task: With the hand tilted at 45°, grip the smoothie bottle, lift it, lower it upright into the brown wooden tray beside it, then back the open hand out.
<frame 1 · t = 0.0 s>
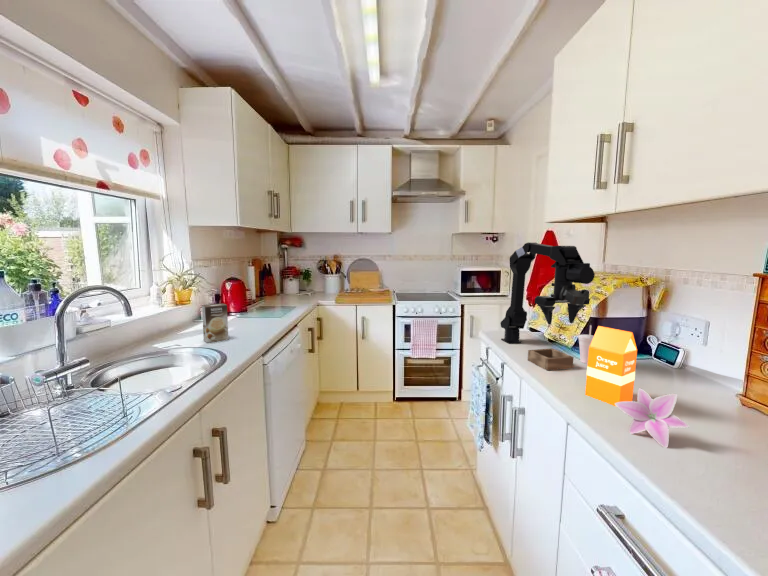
hand: (560, 323, 120), 15 cm above the countertop, tool pointing down, fingers open, 9 cm apart
smoothie: (586, 362, 123), on the countertop
lily: (648, 434, 75), on the countertop
brown wooden tray: (549, 364, 120), on the countertop
orange juice: (608, 398, 93), on the countertop
coffee box: (216, 340, 150), on the countertop
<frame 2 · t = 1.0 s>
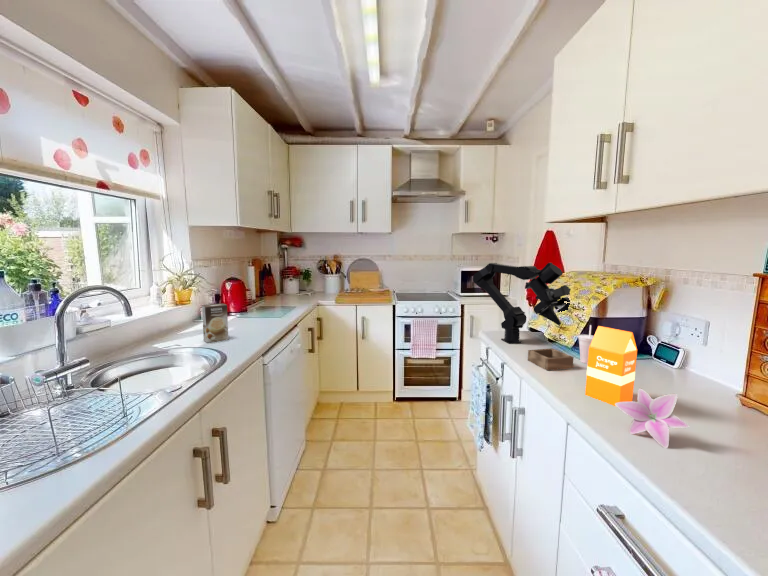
hand: (566, 323, 128), 13 cm above the countertop, tool tilted 45°, fingers open, 9 cm apart
nothing on the countertop moved.
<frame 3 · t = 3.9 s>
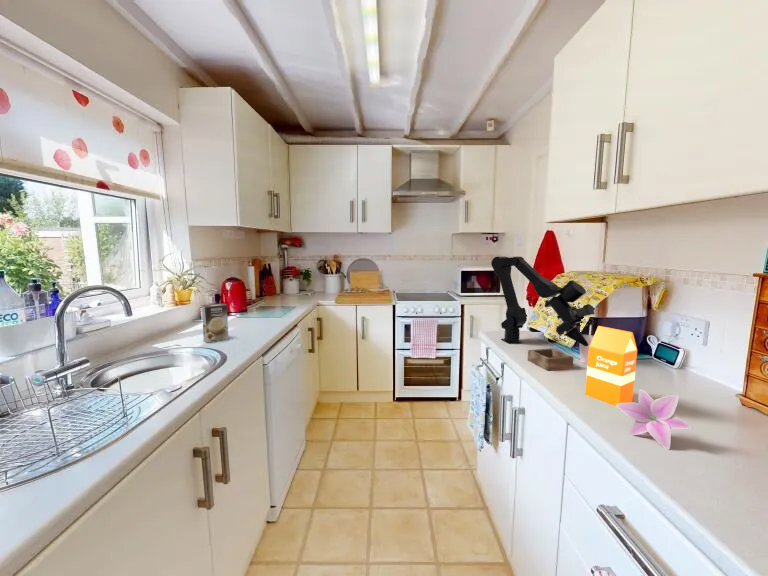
hand: (591, 344, 121), 7 cm above the countertop, tool tilted 45°, fingers closed on smoothie, 6 cm apart
smoothie: (586, 362, 123), on the countertop, touching gripper
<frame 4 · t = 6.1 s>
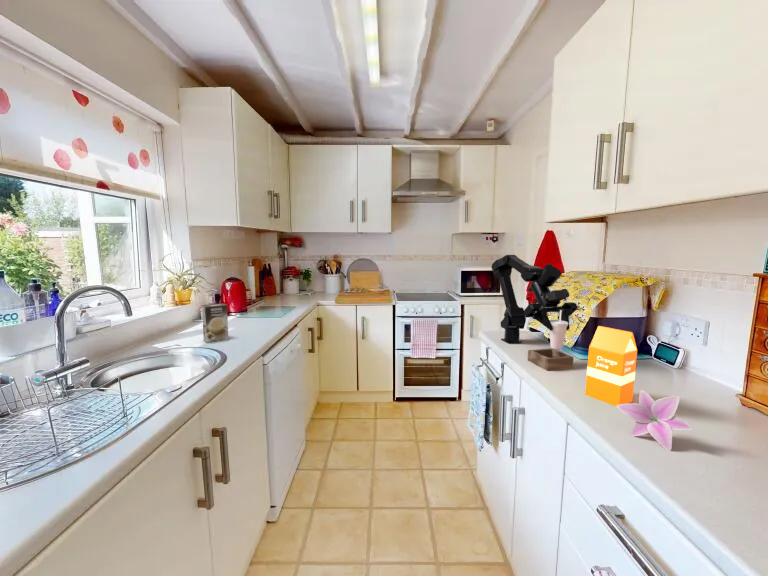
hand: (560, 329, 117), 13 cm above the countertop, tool tilted 45°, fingers closed on smoothie, 6 cm apart
smoothie: (556, 348, 120), point 6 cm above the countertop, touching gripper
when the fingers open (8 cm above the countertop, at t = 8.4 s): smoothie drops 1 cm, resting in brown wooden tray.
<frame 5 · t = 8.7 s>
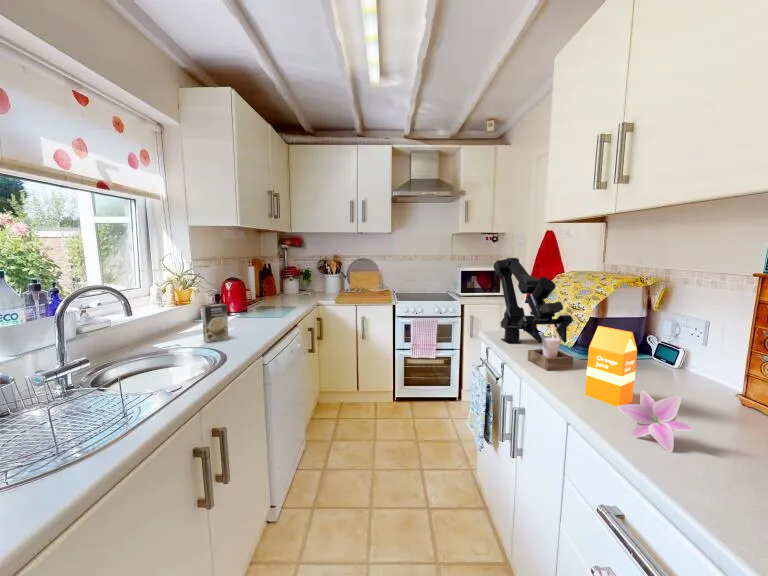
hand: (553, 342, 118), 9 cm above the countertop, tool tilted 45°, fingers open, 9 cm apart
smoothie: (549, 364, 120), resting in brown wooden tray
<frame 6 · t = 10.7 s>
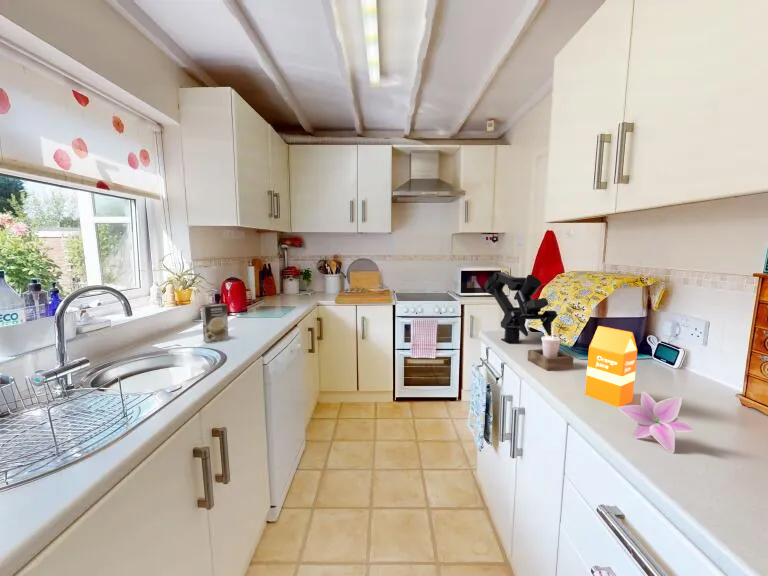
hand: (538, 335, 127), 8 cm above the countertop, tool tilted 45°, fingers open, 9 cm apart
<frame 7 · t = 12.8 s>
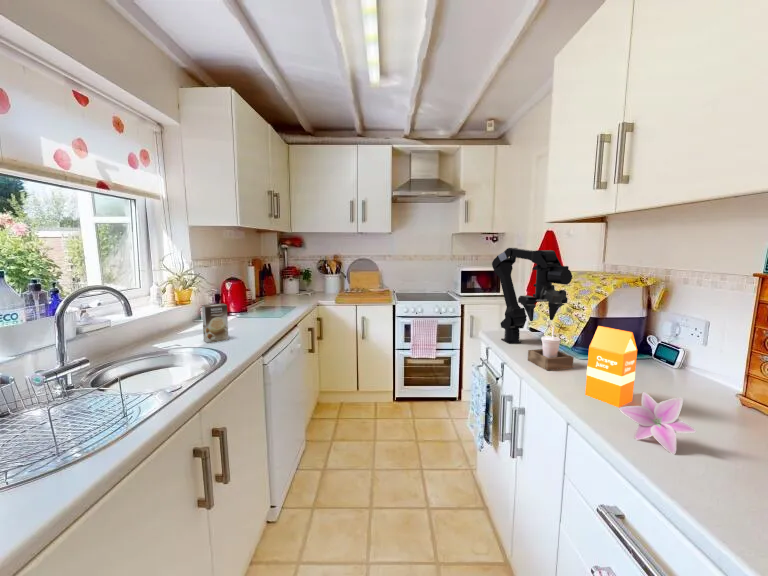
hand: (541, 320, 132), 13 cm above the countertop, tool pointing down, fingers open, 9 cm apart
at the end: smoothie 0.1 cm off-centre on the brown wooden tray, point 0.0 cm above the brown wooden tray's base; smoothie tilted 0°; the gripper is holding nothing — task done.
